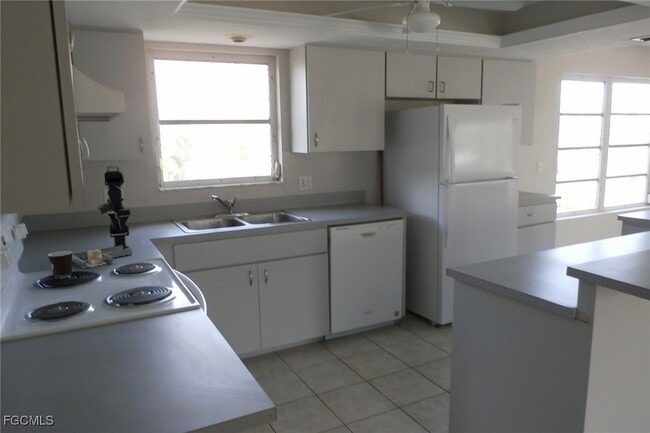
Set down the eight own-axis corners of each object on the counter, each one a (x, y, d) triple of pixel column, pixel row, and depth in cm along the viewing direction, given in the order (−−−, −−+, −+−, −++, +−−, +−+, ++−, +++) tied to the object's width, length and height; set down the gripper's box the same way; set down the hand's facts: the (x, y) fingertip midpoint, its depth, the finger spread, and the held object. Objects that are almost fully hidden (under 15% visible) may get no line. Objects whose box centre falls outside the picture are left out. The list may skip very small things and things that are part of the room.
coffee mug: (53, 275, 196) (50, 252, 195) (76, 273, 199) (73, 250, 198) (47, 283, 186) (44, 258, 184) (72, 280, 189) (69, 256, 187)
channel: (68, 260, 221) (67, 254, 221) (122, 250, 239) (121, 244, 238) (84, 269, 206) (83, 262, 205) (140, 258, 223) (140, 251, 222)
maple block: (99, 261, 216) (97, 249, 215) (102, 263, 213) (101, 250, 212) (88, 263, 213) (87, 250, 212) (91, 265, 209) (90, 252, 208)
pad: (83, 264, 212) (83, 264, 212) (102, 261, 218) (102, 260, 218) (89, 267, 207) (88, 266, 207) (107, 264, 213) (107, 263, 213)
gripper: (90, 196, 226) (94, 228, 229) (104, 200, 213) (108, 233, 216) (114, 194, 234) (117, 225, 237) (129, 197, 221) (132, 230, 223)
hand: (118, 228), depth 228 cm, fingers open, 9 cm apart
